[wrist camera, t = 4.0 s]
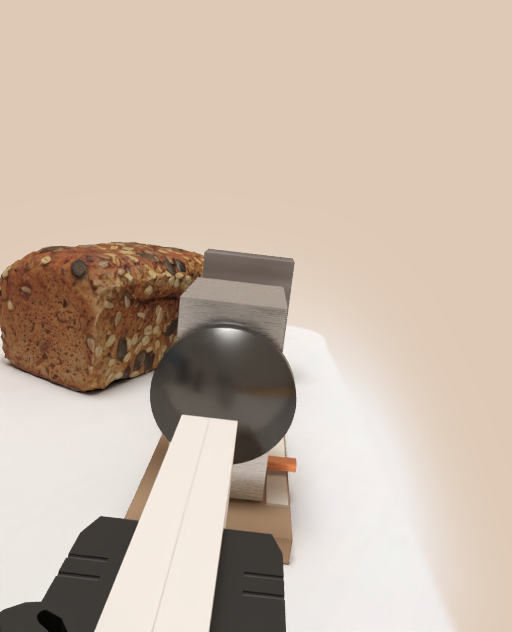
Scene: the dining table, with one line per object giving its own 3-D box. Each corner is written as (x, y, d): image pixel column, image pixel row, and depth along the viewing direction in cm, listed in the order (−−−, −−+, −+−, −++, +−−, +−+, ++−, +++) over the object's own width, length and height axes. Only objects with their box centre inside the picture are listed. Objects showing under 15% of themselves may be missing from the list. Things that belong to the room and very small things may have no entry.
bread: (91, 403, 32) (95, 258, 29) (-9, 364, 36) (-12, 235, 34) (229, 344, 48) (239, 247, 46) (148, 322, 53) (153, 233, 50)
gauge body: (288, 563, 19) (324, 330, 17) (122, 545, 19) (134, 308, 17) (277, 374, 41) (292, 258, 38) (198, 365, 41) (208, 248, 38)
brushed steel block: (298, 516, 20) (329, 318, 18) (143, 499, 20) (155, 298, 18) (291, 448, 26) (314, 290, 24) (170, 434, 26) (182, 275, 24)
